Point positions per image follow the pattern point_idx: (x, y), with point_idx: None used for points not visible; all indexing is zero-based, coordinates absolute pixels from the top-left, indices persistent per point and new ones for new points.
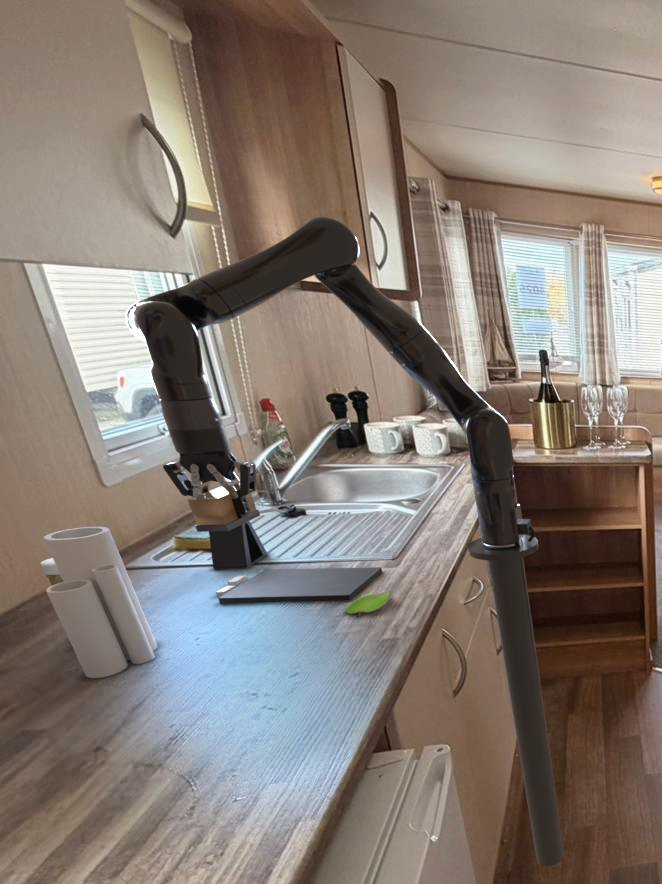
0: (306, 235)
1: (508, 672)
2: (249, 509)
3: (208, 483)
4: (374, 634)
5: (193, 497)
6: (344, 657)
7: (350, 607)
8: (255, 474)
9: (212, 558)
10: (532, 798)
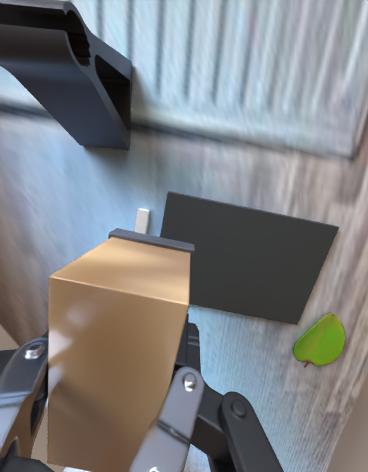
0: None
1: None
2: (198, 332)
3: (25, 420)
4: (319, 402)
5: (50, 445)
6: (296, 432)
7: (297, 347)
8: None
9: (70, 134)
10: None
